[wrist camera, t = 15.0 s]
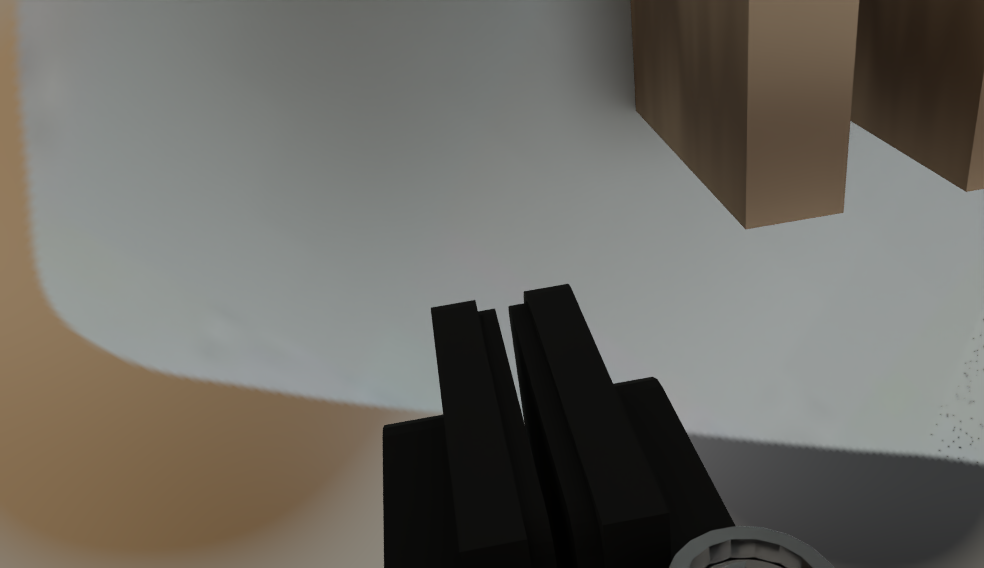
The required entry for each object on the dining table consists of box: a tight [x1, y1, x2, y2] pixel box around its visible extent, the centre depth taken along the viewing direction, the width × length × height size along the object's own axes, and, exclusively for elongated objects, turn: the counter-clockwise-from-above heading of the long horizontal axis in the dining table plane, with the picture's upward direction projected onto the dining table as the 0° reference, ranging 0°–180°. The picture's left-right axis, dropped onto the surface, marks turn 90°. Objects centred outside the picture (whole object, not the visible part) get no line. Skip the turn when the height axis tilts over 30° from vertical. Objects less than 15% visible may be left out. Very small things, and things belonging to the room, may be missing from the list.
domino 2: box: [850, 0, 984, 192], centre depth 22 cm, size 5×2×9 cm, turn 8°
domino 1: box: [631, 0, 859, 229], centre depth 21 cm, size 5×2×9 cm, turn 7°
